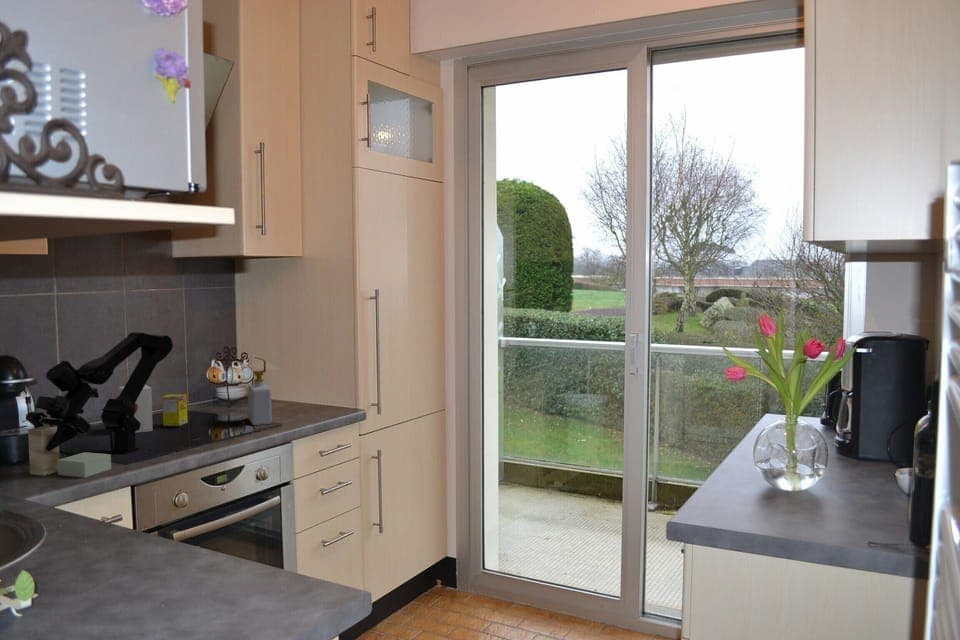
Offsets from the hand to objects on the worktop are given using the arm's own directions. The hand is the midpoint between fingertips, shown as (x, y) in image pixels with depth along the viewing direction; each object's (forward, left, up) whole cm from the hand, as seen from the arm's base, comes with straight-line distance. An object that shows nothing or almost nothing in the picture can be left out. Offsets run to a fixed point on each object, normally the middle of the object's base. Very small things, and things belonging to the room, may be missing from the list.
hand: (39, 449), depth 202 cm
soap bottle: (-16, -77, -7) cm, 79 cm away
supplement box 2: (+16, -52, -7) cm, 55 cm away
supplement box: (+8, -62, -7) cm, 63 cm away
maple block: (0, -1, -7) cm, 7 cm away
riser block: (-10, -5, -7) cm, 13 cm away
